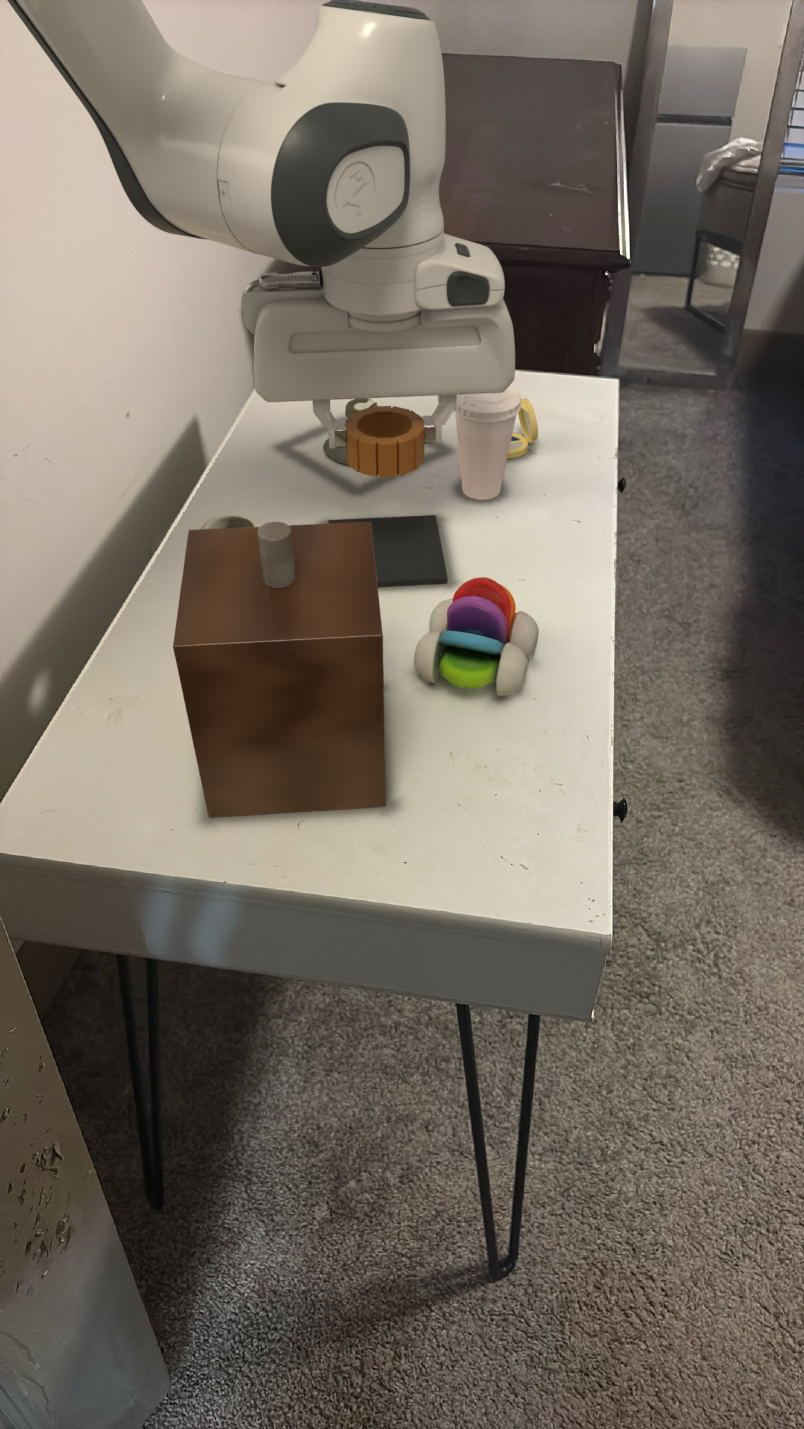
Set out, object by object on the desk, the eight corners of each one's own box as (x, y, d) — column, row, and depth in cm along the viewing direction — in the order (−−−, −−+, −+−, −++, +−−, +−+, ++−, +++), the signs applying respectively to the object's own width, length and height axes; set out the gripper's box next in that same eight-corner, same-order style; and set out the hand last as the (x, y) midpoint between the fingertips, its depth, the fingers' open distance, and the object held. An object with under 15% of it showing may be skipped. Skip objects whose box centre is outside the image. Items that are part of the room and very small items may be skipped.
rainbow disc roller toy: (541, 639, 81) (550, 564, 76) (514, 718, 74) (522, 642, 69) (441, 619, 83) (443, 545, 78) (405, 694, 76) (405, 619, 71)
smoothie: (516, 507, 95) (528, 365, 85) (448, 507, 95) (453, 365, 85) (512, 473, 100) (523, 334, 90) (447, 472, 100) (452, 334, 90)
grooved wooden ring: (348, 479, 81) (346, 445, 78) (345, 440, 85) (343, 407, 83) (427, 475, 81) (427, 441, 79) (420, 437, 85) (420, 404, 83)
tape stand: (208, 818, 67) (162, 596, 54) (217, 697, 76) (180, 482, 63) (386, 807, 68) (381, 586, 55) (375, 688, 77) (369, 474, 64)
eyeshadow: (479, 440, 104) (482, 395, 101) (524, 434, 105) (528, 390, 102) (492, 460, 101) (495, 415, 98) (539, 454, 102) (543, 409, 99)
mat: (331, 589, 86) (331, 583, 85) (328, 525, 93) (328, 519, 93) (447, 583, 86) (447, 577, 86) (435, 520, 94) (435, 514, 93)
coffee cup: (282, 447, 104) (277, 402, 100) (369, 410, 109) (367, 366, 106) (357, 492, 97) (355, 445, 94) (445, 450, 103) (447, 405, 100)
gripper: (236, 291, 70) (257, 468, 79) (526, 280, 71) (512, 456, 80) (240, 258, 74) (259, 429, 84) (512, 249, 75) (501, 419, 85)
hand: (385, 442), depth 82 cm, fingers closed on grooved wooden ring, 6 cm apart
